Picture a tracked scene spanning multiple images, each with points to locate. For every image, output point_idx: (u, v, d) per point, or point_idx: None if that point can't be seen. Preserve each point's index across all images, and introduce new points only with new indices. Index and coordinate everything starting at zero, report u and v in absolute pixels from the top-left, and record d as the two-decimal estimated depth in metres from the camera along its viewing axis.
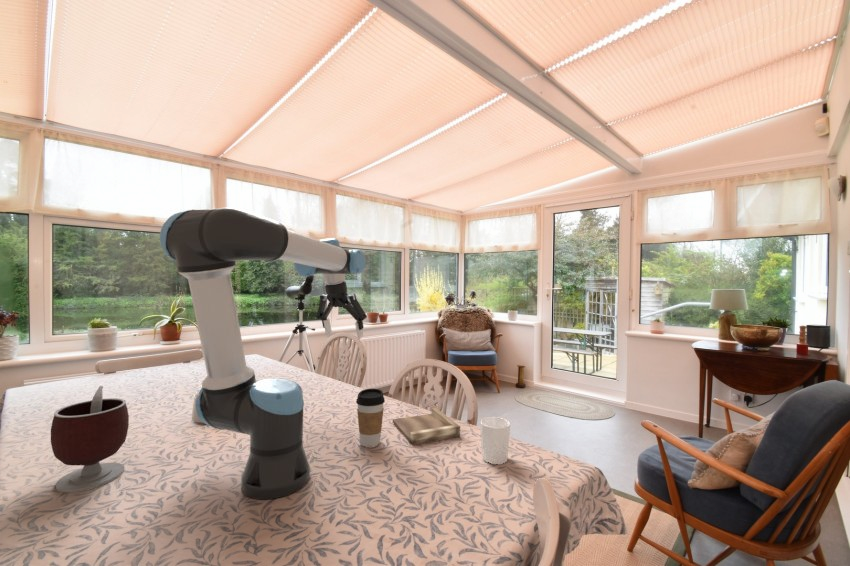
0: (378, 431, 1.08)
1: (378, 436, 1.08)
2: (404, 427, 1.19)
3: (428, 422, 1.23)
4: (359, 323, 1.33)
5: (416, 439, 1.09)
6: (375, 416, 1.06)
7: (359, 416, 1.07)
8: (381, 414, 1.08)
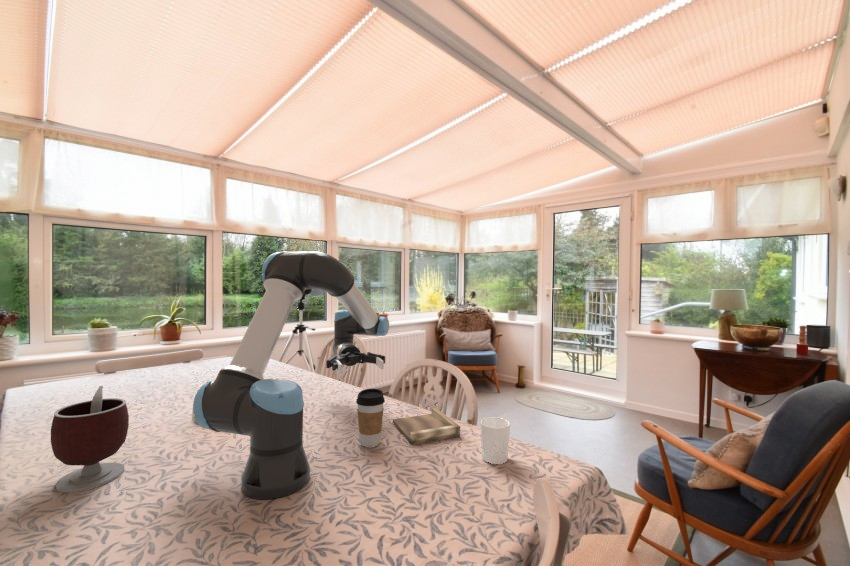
0: (378, 431, 1.08)
1: (378, 436, 1.08)
2: (404, 427, 1.19)
3: (428, 422, 1.23)
4: (380, 359, 1.28)
5: (416, 439, 1.09)
6: (375, 416, 1.06)
7: (359, 416, 1.07)
8: (381, 414, 1.08)
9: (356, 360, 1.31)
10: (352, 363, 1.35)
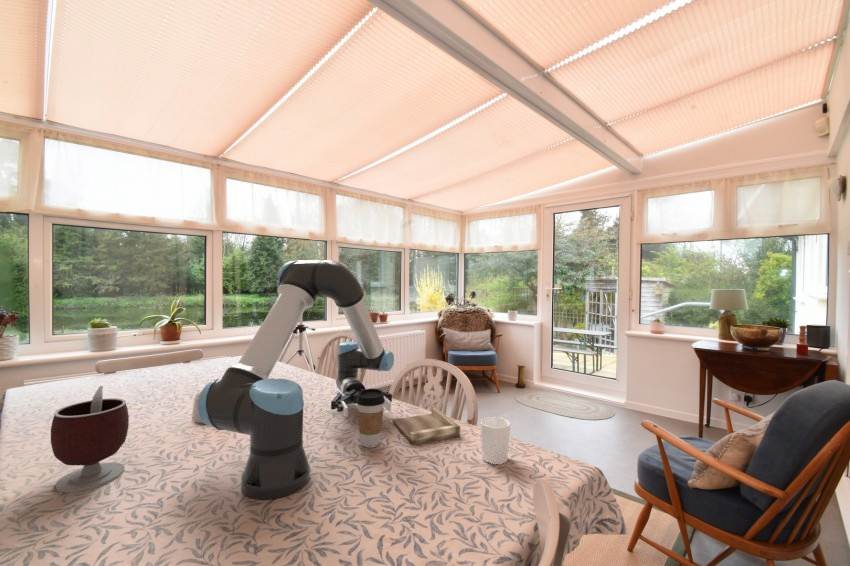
0: (378, 431, 1.08)
1: (378, 436, 1.08)
2: (404, 427, 1.19)
3: (428, 422, 1.23)
4: (387, 398, 1.23)
5: (416, 439, 1.09)
6: (375, 416, 1.06)
7: (359, 416, 1.07)
8: (381, 414, 1.08)
9: None
10: None
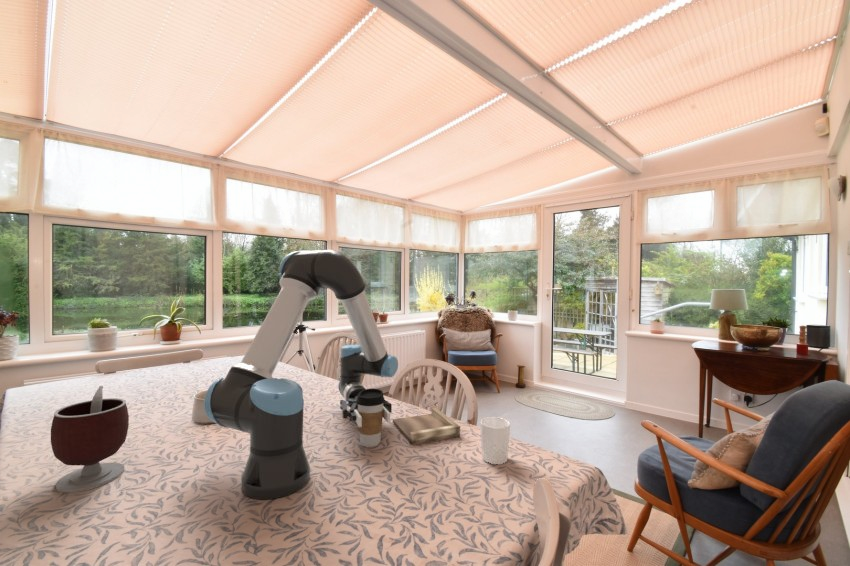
0: (378, 431, 1.08)
1: (378, 436, 1.08)
2: (404, 427, 1.19)
3: (428, 422, 1.23)
4: (386, 408, 1.12)
5: (416, 439, 1.09)
6: (375, 416, 1.06)
7: None
8: (381, 414, 1.08)
9: None
10: None
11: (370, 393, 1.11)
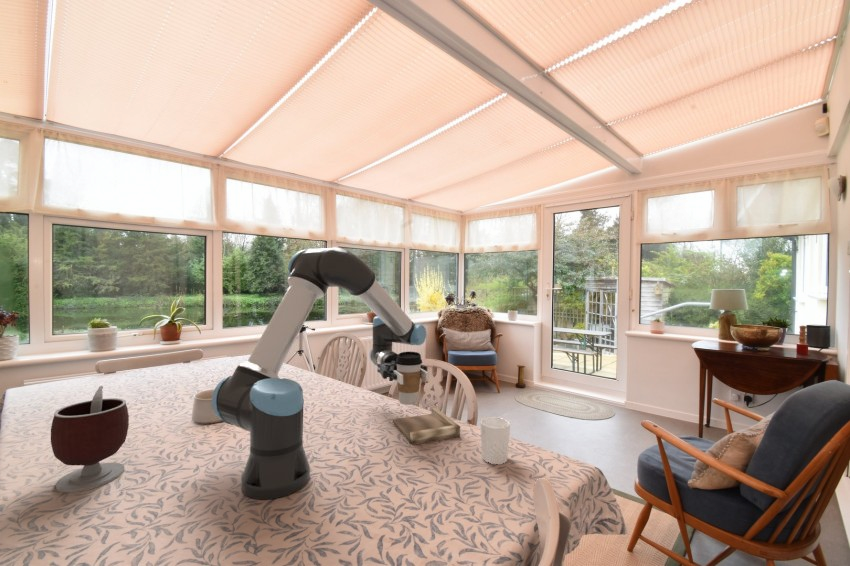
0: (417, 389, 1.15)
1: (417, 394, 1.15)
2: (404, 427, 1.19)
3: (428, 422, 1.23)
4: (422, 370, 1.19)
5: (416, 439, 1.09)
6: (414, 375, 1.13)
7: None
8: (419, 374, 1.15)
9: None
10: None
11: (408, 355, 1.18)
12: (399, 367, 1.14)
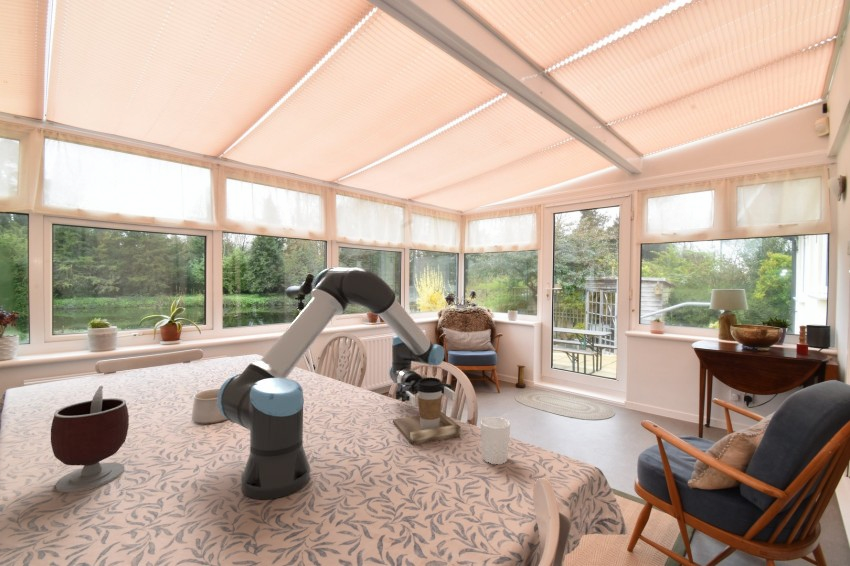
0: (438, 416, 1.17)
1: (438, 421, 1.17)
2: (404, 427, 1.19)
3: None
4: None
5: (416, 439, 1.09)
6: (436, 402, 1.15)
7: (420, 402, 1.16)
8: (440, 400, 1.17)
9: None
10: (415, 391, 1.32)
11: (428, 381, 1.20)
12: (420, 394, 1.16)
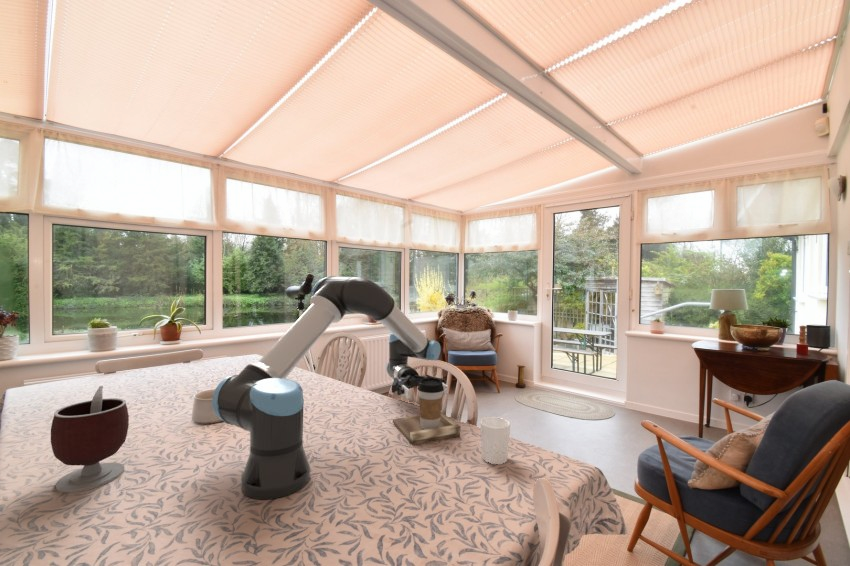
0: (438, 416, 1.17)
1: (438, 421, 1.17)
2: (404, 427, 1.19)
3: None
4: (442, 383, 1.30)
5: (416, 439, 1.09)
6: (436, 402, 1.15)
7: (421, 402, 1.16)
8: (441, 401, 1.17)
9: (417, 383, 1.33)
10: (411, 386, 1.38)
11: (429, 381, 1.20)
12: (421, 394, 1.16)
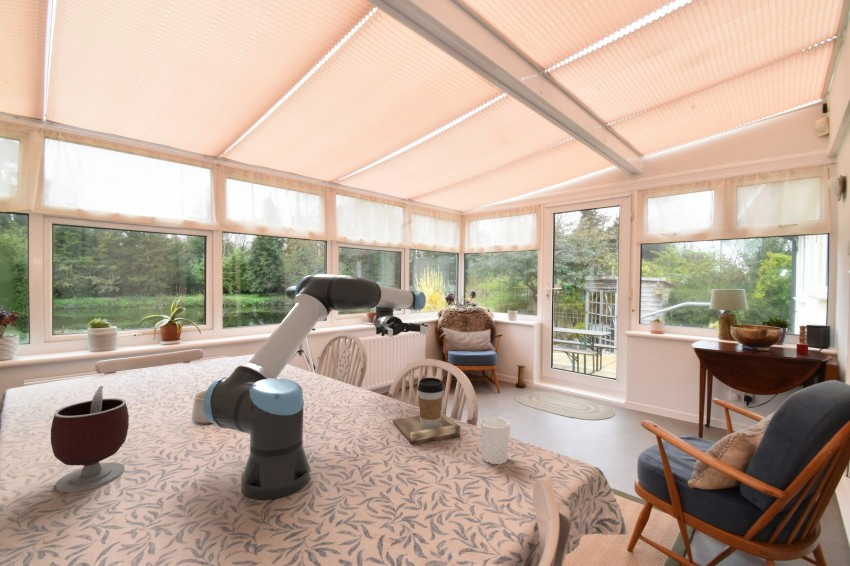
0: (438, 416, 1.17)
1: (438, 421, 1.17)
2: (404, 427, 1.19)
3: None
4: None
5: (416, 439, 1.09)
6: (436, 403, 1.15)
7: (421, 402, 1.16)
8: (441, 401, 1.17)
9: (401, 329, 1.41)
10: (395, 333, 1.46)
11: (429, 382, 1.20)
12: (421, 394, 1.16)
